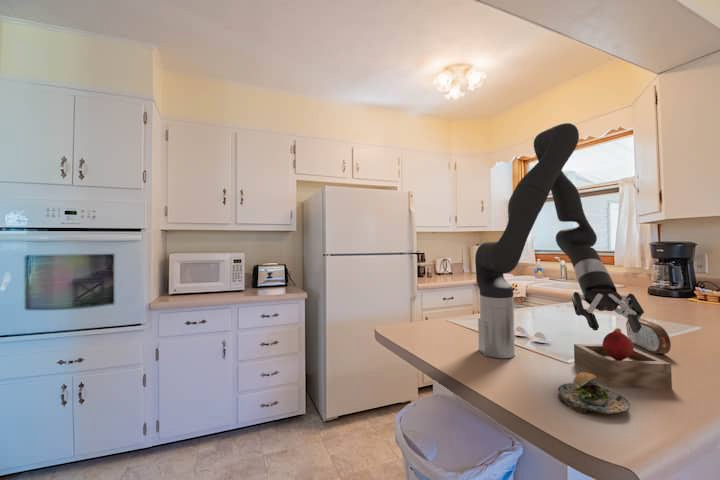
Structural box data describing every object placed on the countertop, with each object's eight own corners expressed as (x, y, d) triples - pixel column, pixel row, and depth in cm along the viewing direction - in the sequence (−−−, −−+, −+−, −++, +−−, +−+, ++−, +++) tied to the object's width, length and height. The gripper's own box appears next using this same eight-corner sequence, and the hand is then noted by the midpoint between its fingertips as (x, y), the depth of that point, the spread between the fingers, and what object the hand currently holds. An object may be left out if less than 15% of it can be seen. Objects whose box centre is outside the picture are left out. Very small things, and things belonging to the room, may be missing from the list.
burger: (584, 422, 56) (583, 381, 57) (545, 391, 68) (544, 357, 68) (648, 420, 56) (647, 380, 57) (599, 390, 68) (598, 356, 68)
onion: (626, 367, 71) (625, 333, 71) (598, 359, 76) (597, 327, 76) (638, 362, 74) (637, 329, 74) (610, 355, 79) (609, 324, 79)
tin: (672, 358, 85) (671, 328, 85) (659, 357, 86) (658, 327, 86) (635, 341, 100) (634, 315, 100) (624, 340, 101) (623, 315, 101)
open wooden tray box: (609, 389, 69) (608, 363, 69) (574, 366, 82) (573, 344, 82) (672, 390, 68) (671, 363, 68) (626, 367, 81) (625, 344, 81)
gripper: (568, 269, 86) (587, 320, 75) (628, 270, 82) (658, 323, 71) (561, 286, 91) (579, 335, 80) (618, 287, 87) (644, 339, 76)
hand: (616, 330), depth 75 cm, fingers open, 8 cm apart
